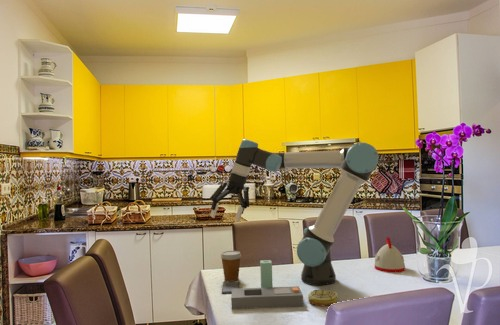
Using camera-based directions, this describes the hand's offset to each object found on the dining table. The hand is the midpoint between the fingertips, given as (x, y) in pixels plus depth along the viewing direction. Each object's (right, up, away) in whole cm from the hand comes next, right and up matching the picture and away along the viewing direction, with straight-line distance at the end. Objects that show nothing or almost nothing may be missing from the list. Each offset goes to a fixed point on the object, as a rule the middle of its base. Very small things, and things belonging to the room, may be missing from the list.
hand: (224, 218), depth 160 cm
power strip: (+18, -27, -26) cm, 42 cm away
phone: (+3, -29, -8) cm, 30 cm away
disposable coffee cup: (+3, -29, +5) cm, 29 cm away
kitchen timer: (+80, -27, +15) cm, 85 cm away
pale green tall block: (+18, -28, -13) cm, 36 cm away
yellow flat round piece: (+39, -27, -26) cm, 54 cm away
